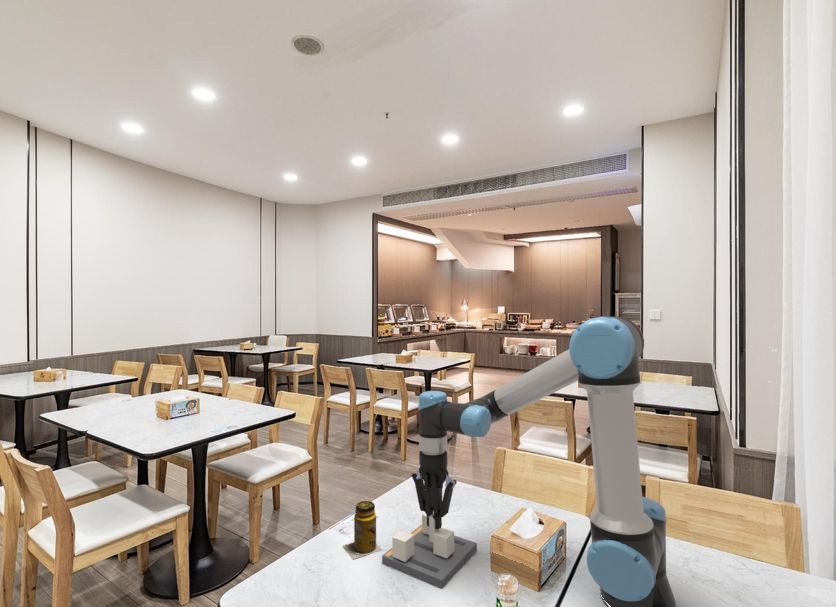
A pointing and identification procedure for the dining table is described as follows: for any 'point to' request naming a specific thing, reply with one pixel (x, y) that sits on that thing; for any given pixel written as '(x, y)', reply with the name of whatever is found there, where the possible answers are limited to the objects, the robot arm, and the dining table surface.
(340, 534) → the dining table surface
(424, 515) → the block
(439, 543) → the block
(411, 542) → the block
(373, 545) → the condiment
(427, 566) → the grey slotted panel board
